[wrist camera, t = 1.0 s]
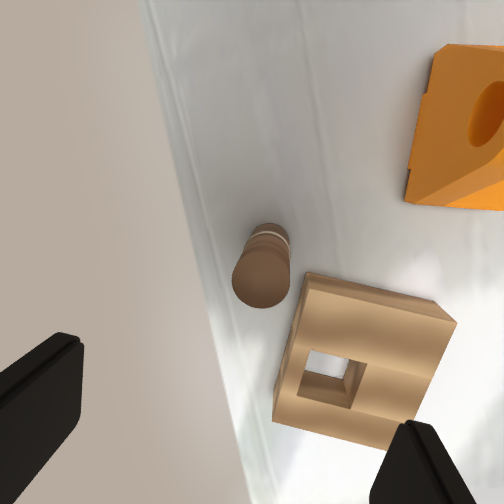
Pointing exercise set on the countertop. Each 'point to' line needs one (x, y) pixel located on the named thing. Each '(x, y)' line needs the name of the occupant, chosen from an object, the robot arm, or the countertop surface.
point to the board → (359, 360)
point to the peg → (263, 268)
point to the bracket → (461, 131)
